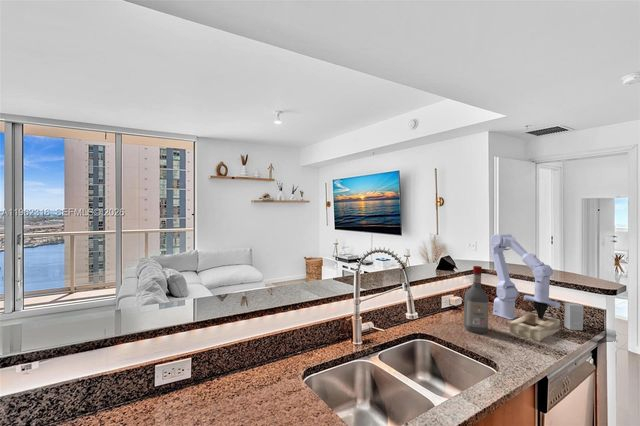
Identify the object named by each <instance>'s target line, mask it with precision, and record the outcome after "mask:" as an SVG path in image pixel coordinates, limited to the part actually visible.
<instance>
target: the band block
mask: <svg viewBox="0 0 640 426" xmlns="http://www.w3.org/2000/svg"><path fill="white" fill-rule="evenodd" d="M529 314H534V315H536V317H538V314H537V312H529ZM543 318H545V319H546V320H545V321H543V320H540V319H536V322H535V326H531V325H528V324H525V315H522V316H521V317H517V318H515V319H514V320H512V321H510V322H509V333H510V334H513V335H517V336H519V337H522V338H525V339H528V340H531V341H534V342H538V343H541V342H543V341H544V340H546V339H548V338H549V337H550V336H552V335H554V334H556V333H557V332H559V331H560V329H561V319H559V318H554V317H550V316H547V315H544V316H543Z"/></svg>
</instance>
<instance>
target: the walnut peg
mask: <svg viewBox="0 0 640 426" xmlns="http://www.w3.org/2000/svg"><path fill="white" fill-rule="evenodd" d="M529 313H530V312H529ZM529 313H525V314H524V316H525V324H528V325H531V326H535V322H536V315H534V314H529Z"/></svg>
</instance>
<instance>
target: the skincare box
mask: <svg viewBox="0 0 640 426" xmlns="http://www.w3.org/2000/svg"><path fill="white" fill-rule="evenodd" d="M563 320H564V322H563V324H564V325H563V327H564V328H565V329H568V330H570V331H583V330H584V329H583V328H584V305H582V304H580V303H577V302H564V319H563Z"/></svg>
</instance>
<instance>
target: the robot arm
mask: <svg viewBox="0 0 640 426" xmlns="http://www.w3.org/2000/svg"><path fill="white" fill-rule="evenodd" d="M489 241H490V253H491V257H492V260H493V264H494V269H495V272H496V275H497V280H498V283H497V284H496V297H495V298H494V300H493V309H492V310H493V311H492V315H494V316H497V317H501V318H504V319H508V320H512V321H513V319H514V320H515V319H517V318H519V317H518V315H515V313H516V312H515V311H516V300H517V298H518V297H519V295H520V293H519V290H518V288H517V286H516V284H515V283H514V282H513V281H512V280H511V277H510V275H509V269H508V265H507V263H506V260H505V254H504V251H505V250H506V248H510V249H511V250H513V251H514V252H515V253H516V254H517V255H519V256H520V257H521V258H522V262H523V263H524V264H525V265H526V266H527V267H528V268H529V269H530V270H531V271H532V275H533V276H534V294H533V295H534V296H532V295H526V294H525V295H523V300H525V301H528V302H529V301H531V302H533V307H534V308H535V311H536V314H538V318H540V319H542V318H543V316H545V313H546V311H547V309H548V308H549V307H550V306H551V307H555V308H558V309H560V308H561V302H557V301H554V300H551V299H550V277H552V275H553V274H554V271H553V269H552V267H551V266H550V265H549V264H545V263H544V261H541V260H540V259H539V258H538V257H537V255H536V254H534V253H529V252H528V251H527V250H526V249H524V248H523V246H522V245H521V244H520V243H518V241H517V240H516V238H515V237H514V236H513V235H512V234H510V233H494V234H493V235H492V236H491V237H490V239H489Z"/></svg>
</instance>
